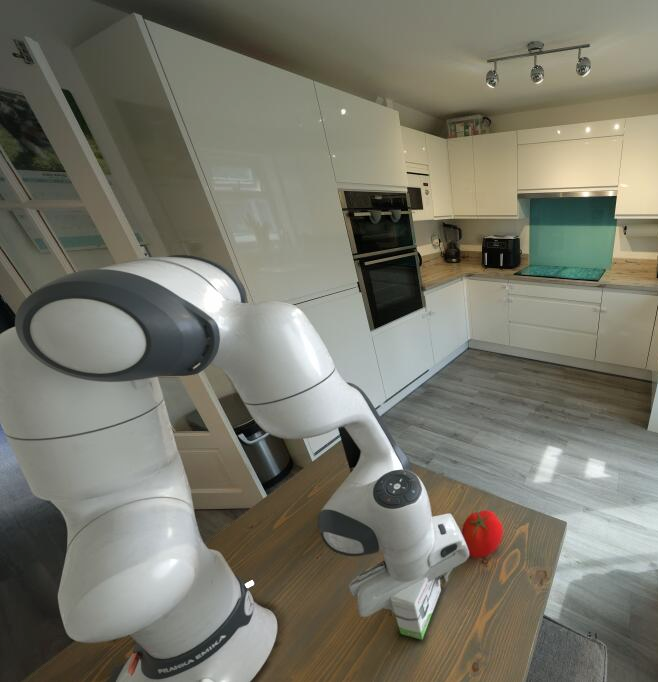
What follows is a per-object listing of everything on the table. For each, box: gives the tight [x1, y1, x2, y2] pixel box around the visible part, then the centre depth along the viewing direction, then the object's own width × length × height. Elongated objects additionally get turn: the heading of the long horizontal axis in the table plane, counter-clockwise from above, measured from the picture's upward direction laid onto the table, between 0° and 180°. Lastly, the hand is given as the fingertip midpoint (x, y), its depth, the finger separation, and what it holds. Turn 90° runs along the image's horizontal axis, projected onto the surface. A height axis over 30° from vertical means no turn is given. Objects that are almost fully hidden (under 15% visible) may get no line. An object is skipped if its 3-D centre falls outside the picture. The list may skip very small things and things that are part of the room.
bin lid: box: [337, 426, 361, 470], centre depth 83 cm, size 13×10×5 cm
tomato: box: [461, 509, 504, 559], centre depth 72 cm, size 9×10×8 cm
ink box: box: [391, 577, 442, 641], centre depth 60 cm, size 9×5×12 cm, turn 167°
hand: (420, 592), depth 61 cm, fingers open, 8 cm apart
